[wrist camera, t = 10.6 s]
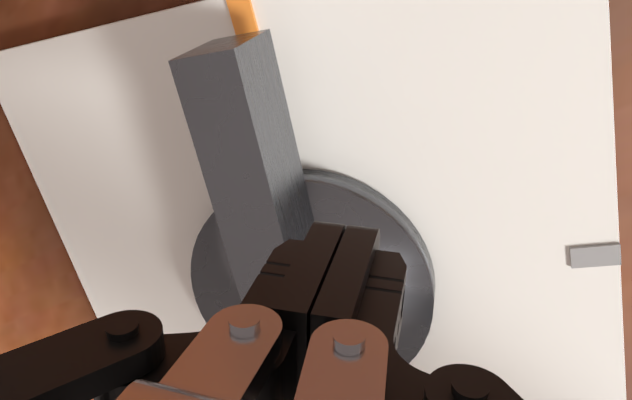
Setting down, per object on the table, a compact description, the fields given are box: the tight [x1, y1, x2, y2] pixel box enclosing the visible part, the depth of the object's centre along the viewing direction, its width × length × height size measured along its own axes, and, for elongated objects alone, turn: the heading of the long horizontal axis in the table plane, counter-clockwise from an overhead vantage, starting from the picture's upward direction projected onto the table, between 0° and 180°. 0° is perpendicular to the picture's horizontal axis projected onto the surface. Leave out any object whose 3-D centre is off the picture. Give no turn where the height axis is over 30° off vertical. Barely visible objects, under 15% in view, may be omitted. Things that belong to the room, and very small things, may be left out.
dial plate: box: [0, 0, 626, 400], centre depth 30 cm, size 28×28×2 cm
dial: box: [168, 29, 435, 363], centre depth 26 cm, size 18×12×6 cm, turn 12°
